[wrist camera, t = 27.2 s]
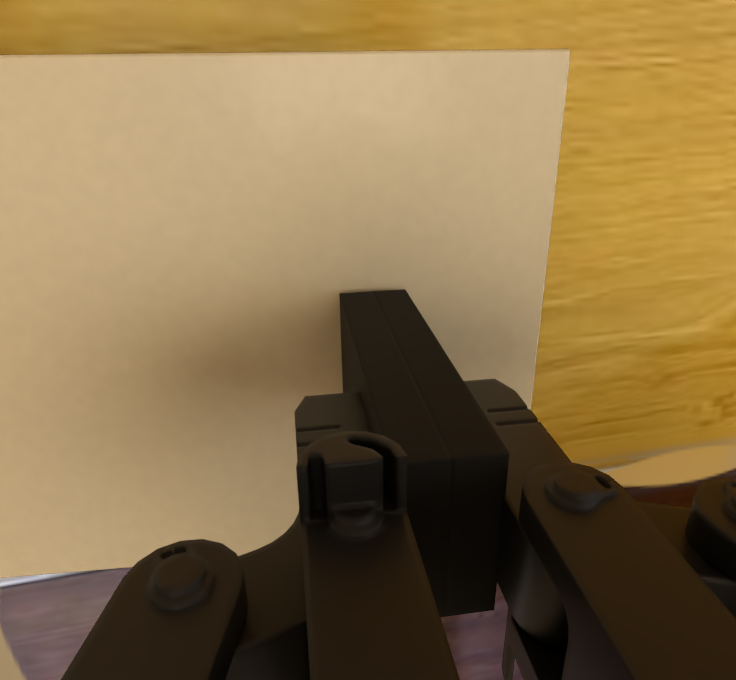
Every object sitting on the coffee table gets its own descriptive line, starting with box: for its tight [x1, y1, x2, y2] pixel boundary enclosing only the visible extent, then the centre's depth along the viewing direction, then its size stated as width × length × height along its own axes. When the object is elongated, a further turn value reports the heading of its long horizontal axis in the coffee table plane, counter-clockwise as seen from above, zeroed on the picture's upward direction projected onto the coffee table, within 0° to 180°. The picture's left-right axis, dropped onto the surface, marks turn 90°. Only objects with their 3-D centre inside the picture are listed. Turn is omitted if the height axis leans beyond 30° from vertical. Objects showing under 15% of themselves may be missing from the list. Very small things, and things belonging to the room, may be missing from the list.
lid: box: [0, 49, 570, 578], centre depth 14 cm, size 18×13×1 cm
